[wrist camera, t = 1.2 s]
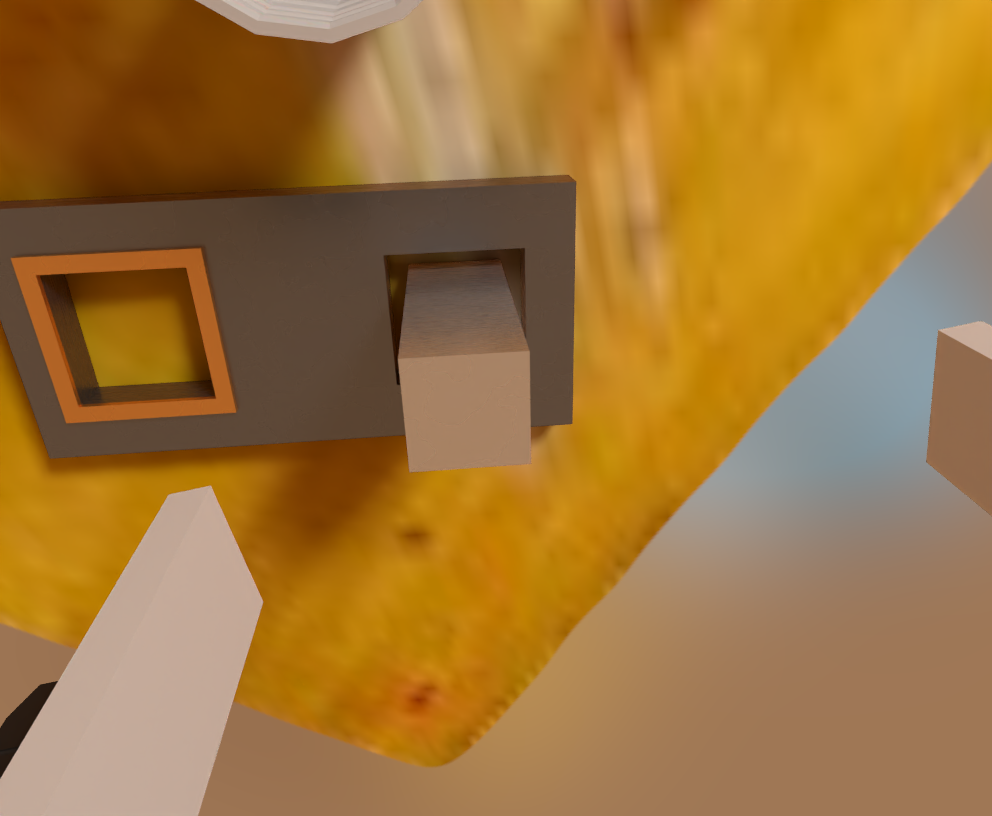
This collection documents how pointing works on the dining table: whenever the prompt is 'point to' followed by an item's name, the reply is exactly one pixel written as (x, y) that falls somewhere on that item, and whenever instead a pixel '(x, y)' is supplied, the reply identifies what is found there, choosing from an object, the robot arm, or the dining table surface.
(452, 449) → the peg
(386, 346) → the grey peg board
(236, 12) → the plastic cup
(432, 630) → the dining table surface
